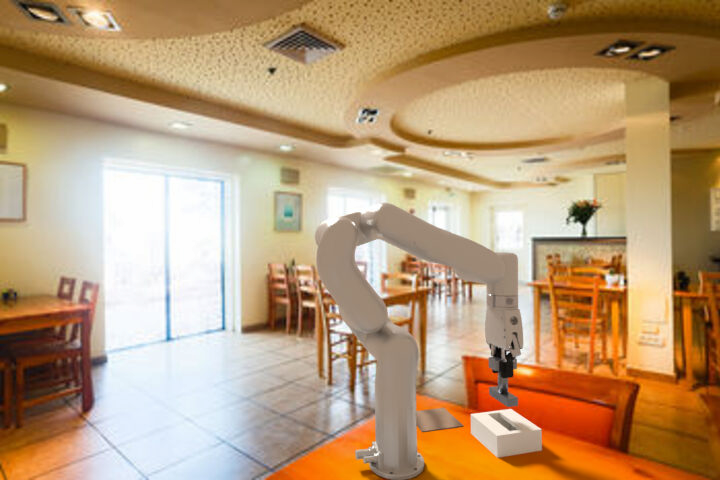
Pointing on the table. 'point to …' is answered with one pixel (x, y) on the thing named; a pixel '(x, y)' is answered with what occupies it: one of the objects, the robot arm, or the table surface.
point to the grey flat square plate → (436, 420)
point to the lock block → (506, 432)
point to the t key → (502, 384)
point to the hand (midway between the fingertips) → (502, 374)
